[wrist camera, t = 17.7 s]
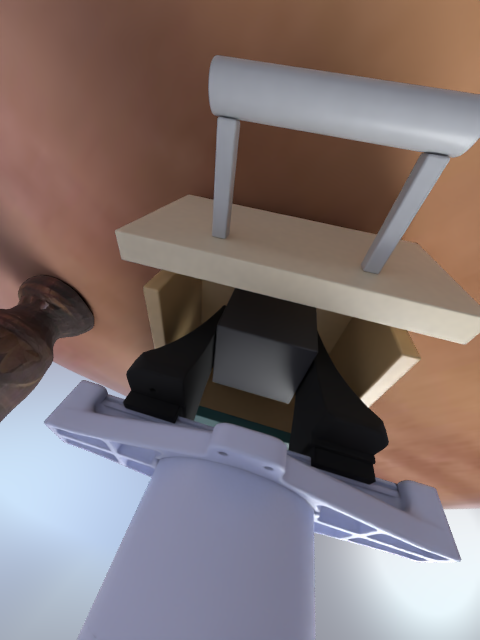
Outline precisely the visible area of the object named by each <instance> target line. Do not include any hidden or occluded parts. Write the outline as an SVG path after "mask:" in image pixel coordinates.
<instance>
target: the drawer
mask: <svg viewBox="0 0 480 640" xmlns="http://www.w3.org/2000/svg"><path fill="white" fill-rule="evenodd" d="M208 92H209V103H210V108H211V111H212V113H213V114H214V115H215V116H220V117H218V119H217V139H216V160H215V181H214V200H212V199H207V198H203V197H198V196H193V195H186V196H184V197H182V198H180V199H178V200H176V201H174V202H172V203H170V204H168V205H166V206H164V207H162V208H160V209H158V210H156V211H154V212H152V213H150V214H148V215H146V216H143V217H141V218H139V219H137V220H135V221H133V222H131V223H129V224H127V225H125V226H123V227H121V228H119V229H117V230H115V234H116V238H117V242H118V246H119V250H120V254H121V258H122V260H126V261H130V262H134V263H138V264H142V265H146V266H150V267H154V268H158V269H162V270H161V271H160V272H159V273H157V274H156V275H155V276H154V277H153V278H152V279H151V280H150V281H149V282H148V283H146V284H145V285H144V286H143V291H144V296H145V301H146V307H147V312H148V317H149V323H150V328H151V333H152V338H153V344H154V349H156V348H159V347H162V346H164V345H167V344H169V343H171V342H174V341H176V340H178V339H180V338H181V337H183V336H185V335H187V334H188V333H190V332H192V331H193V330H195V329H196V328H198V327H199V326H200V325H202V324H203V323H204V322H206V321H207V320H208V319H209V318H210V317H212V316H213V315H214V314H215V313H216V312H217V311H218V310H219V309H220V308H221V307H222V306H224V305H226V306H227V304H228V301H229V299H230V297H231V295H232V293H233V291H234V289H235V288H239V289H243V290H247V291H251V292H255V293H259V294H263V295H267V296H271V297H275V298H279V299H283V300H287V301H291V302H295V303H299V304H303V305H307V306H311V307H315V308H316V312H317V330H318V333H319V335H320V337H321V340H322V342H323V344H324V346H325V348H326V350H327V352H328V354H329V356H330V358H331V360H332V362H333V364H334V365H335V367H336V369H337V370H338V372H339V373H340V375H341V376H342V377H343V379H344V380H345V382H346V383H347V384H348V385H349V387H350V388H351V389H352V390H353V392H354V393H355V394H356V395H357V396H358V397H359V398H360V399H361V400H362V402H363V403H364V404H365V405H366V406H367V407H368V408H369V407H370V406H371V405H372V404H373V403H374V402H375V401H376V400H377V399H379V398H380V397H381V396H382V395H383V394H384V393H385V392H386V391H387V390H388V389H389V388H390V387H392V386H393V385H394V384H395V383H396V382H397V381H398V380H399V379H400V378H401V377H402V376H403V375H404V374H406V373H407V372H408V371H409V370H410V369H411V368H412V367H413V366H414V365H415V364H416V363H417V362H419V361H420V359H421V357H420V355H419V353H418V351H417V349H416V347H415V345H414V343H413V341H412V339H411V337H410V335H409V333H408V331H412V332H416V333H420V334H424V335H428V336H432V337H436V338H440V339H444V340H448V341H452V342H456V343H460V344H467V343H468V342H469V341H470V340H471V339H473V338H474V337H475V336H476V335H477V334H479V333H480V305H479V304H478V303H477V302H476V301H475V300H474V299H473V298H472V297H471V296H470V295H469V294H468V293H467V292H466V291H465V290H464V289H463V288H462V287H461V286H460V285H459V284H458V283H457V282H456V281H455V280H454V279H453V278H452V277H451V276H450V275H449V274H448V273H447V272H446V271H445V270H444V269H443V268H442V267H441V266H440V265H439V264H438V263H437V262H436V261H435V260H434V259H433V258H432V257H431V256H430V255H429V254H428V253H427V252H426V251H425V250H424V249H423V248H422V247H421V246H420V245H419V244H418V243H414V242H409V241H405V240H400V239H401V237H402V236H403V234H404V233H405V231H406V229H407V228H408V226H409V225H410V223H411V221H412V220H413V218H414V217H415V215H416V213H417V212H418V210H419V209H420V207H421V205H422V204H423V202H424V200H425V199H426V197H427V196H428V194H429V192H430V191H431V189H432V188H433V186H434V184H435V183H436V181H437V180H438V178H439V176H440V175H441V173H442V172H443V170H444V168H445V167H446V165H447V164H448V162H449V160H450V158H449V157H452V158H454V157H458V156H460V155H462V154H463V153H465V152H466V151H467V150H468V149H469V148H470V147H471V146H472V145H473V144H474V143H475V142H476V141H477V140H478V139H479V137H480V94H474V93H467V92H460V91H454V90H447V89H440V88H434V87H427V86H420V85H414V84H407V83H400V82H394V81H387V80H380V79H374V78H367V77H360V76H354V75H347V74H340V73H334V72H327V71H320V70H314V69H307V68H300V67H294V66H287V65H280V64H274V63H267V62H261V61H254V60H247V59H241V58H234V57H227V56H221V55H216V56H214V57H213V59H212V62H211V65H210V71H209V82H208ZM239 120H242V121H248V122H254V123H259V124H265V125H271V126H276V127H282V128H288V129H293V130H299V131H305V132H310V133H316V134H322V135H327V136H333V137H339V138H344V139H350V140H356V141H361V142H367V143H373V144H378V145H384V146H390V147H395V148H401V149H407V150H412V151H418V152H424V153H422V154H421V155H420V157H419V158H418V160H417V162H416V164H415V166H414V168H413V169H412V171H411V173H410V175H409V177H408V179H407V180H406V182H405V184H404V186H403V188H402V190H401V191H400V193H399V195H398V197H397V199H396V201H395V203H394V204H393V206H392V208H391V210H390V212H389V214H388V215H387V217H386V219H385V221H384V223H383V225H382V226H381V228H380V230H379V232H378V234H372V233H367V232H362V231H358V230H353V229H348V228H344V227H339V226H334V225H330V224H325V223H320V222H315V221H311V220H306V219H301V218H297V217H292V216H287V215H283V214H278V213H273V212H268V211H264V210H259V209H254V208H250V207H245V206H240V205H236V204H232V202H233V192H234V182H235V171H236V161H237V151H238V141H239V131H240V121H239ZM407 330H408V331H407ZM212 377H213V368H212V371H211V373H210V376H209V379H208V381H207V384H206V387H205V390H204V393H203V395H202V398H201V401H200V404H199V405H200V406H203V407H206V408H209V409H213V410H216V411H219V412H223V413H226V414H229V415H233V416H236V417H239V418H242V419H246V420H249V421H252V422H256V423H259V424H262V425H266V426H269V427H272V428H275V429H279V430H282V431H285V432H289V433H291V429H292V422H293V414H294V405H295V395H296V392H295V394H294V396H293V398H292V399H291V401H290V403H289V404H287V403H284V402H280V401H277V400H273V399H270V398H266V397H263V396H259V395H256V394H253V393H249V392H246V391H242V390H239V389H235V388H232V387H228V386H225V385H222V384H218V383H215V382H212Z"/></svg>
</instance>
